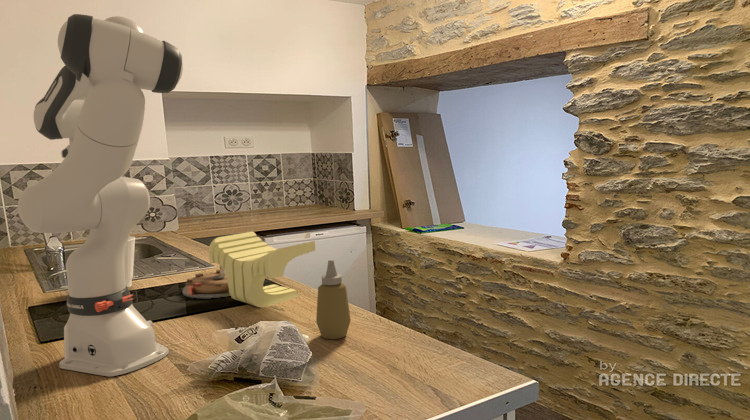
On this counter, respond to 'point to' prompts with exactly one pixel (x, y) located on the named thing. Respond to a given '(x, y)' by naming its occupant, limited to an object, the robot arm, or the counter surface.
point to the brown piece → (210, 282)
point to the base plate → (189, 292)
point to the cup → (129, 260)
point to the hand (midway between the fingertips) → (94, 201)
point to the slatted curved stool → (255, 267)
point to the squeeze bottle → (332, 305)
